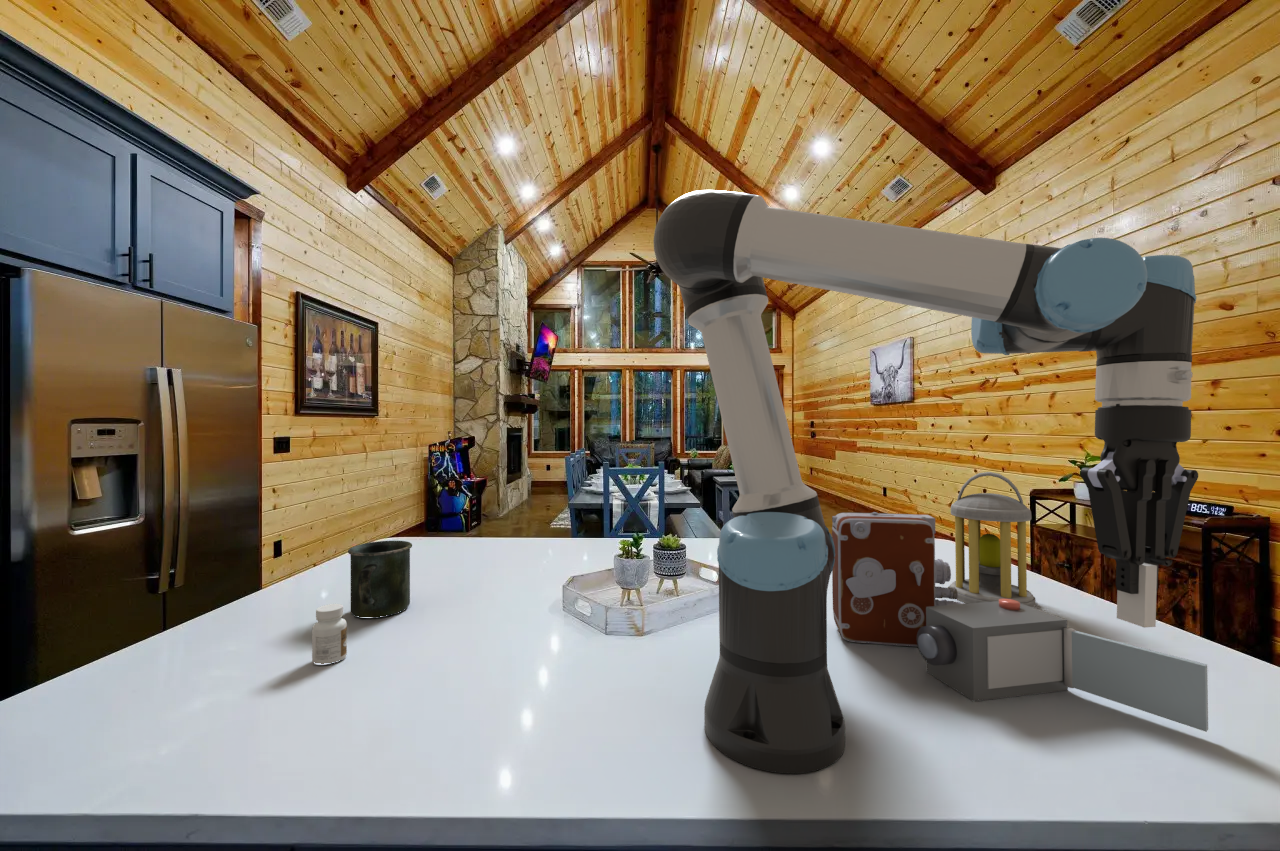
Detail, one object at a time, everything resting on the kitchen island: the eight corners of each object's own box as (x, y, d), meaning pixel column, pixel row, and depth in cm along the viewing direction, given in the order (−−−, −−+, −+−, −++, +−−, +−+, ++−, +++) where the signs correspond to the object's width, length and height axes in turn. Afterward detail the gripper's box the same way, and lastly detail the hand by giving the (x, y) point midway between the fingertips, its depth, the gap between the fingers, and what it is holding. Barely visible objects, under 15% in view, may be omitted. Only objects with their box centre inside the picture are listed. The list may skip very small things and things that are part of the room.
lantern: (945, 601, 102) (944, 473, 102) (951, 584, 113) (950, 468, 114) (1037, 616, 94) (1035, 476, 94) (1033, 595, 105) (1032, 471, 106)
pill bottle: (351, 659, 78) (351, 607, 78) (317, 669, 74) (317, 614, 74) (341, 651, 81) (341, 600, 81) (308, 660, 77) (308, 607, 77)
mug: (419, 599, 105) (418, 539, 105) (397, 625, 91) (397, 556, 91) (361, 602, 104) (361, 541, 104) (329, 629, 89) (329, 559, 89)
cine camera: (978, 656, 78) (976, 520, 78) (839, 645, 81) (838, 517, 82) (954, 632, 87) (953, 511, 87) (830, 624, 90) (829, 508, 91)
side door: (1209, 729, 57) (1208, 662, 57) (1206, 733, 56) (1204, 665, 56) (1067, 682, 67) (1066, 626, 67) (1062, 685, 67) (1062, 628, 67)
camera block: (957, 704, 64) (956, 623, 64) (910, 673, 72) (909, 602, 72) (1069, 690, 67) (1068, 613, 67) (1012, 663, 75) (1011, 594, 75)
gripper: (1131, 401, 52) (1125, 639, 52) (1232, 405, 54) (1226, 632, 54) (1057, 404, 59) (1052, 612, 59) (1149, 407, 62) (1144, 607, 62)
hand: (1135, 622), depth 57 cm, fingers closed
